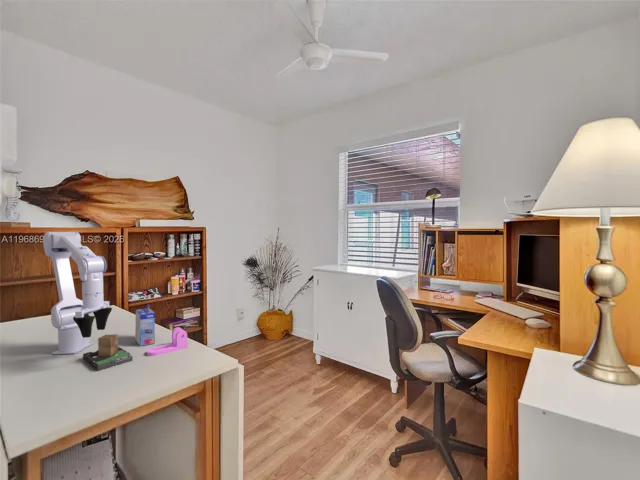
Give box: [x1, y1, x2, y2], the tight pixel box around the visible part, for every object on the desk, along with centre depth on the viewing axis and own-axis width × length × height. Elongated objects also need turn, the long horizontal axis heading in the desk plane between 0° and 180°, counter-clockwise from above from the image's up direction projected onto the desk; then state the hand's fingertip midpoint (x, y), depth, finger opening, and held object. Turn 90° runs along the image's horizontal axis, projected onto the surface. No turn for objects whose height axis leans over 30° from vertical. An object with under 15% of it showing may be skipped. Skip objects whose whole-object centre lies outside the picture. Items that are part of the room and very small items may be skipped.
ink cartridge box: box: [134, 303, 156, 347], centre depth 123 cm, size 10×6×14 cm, turn 40°
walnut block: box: [97, 333, 119, 356], centre depth 106 cm, size 4×4×6 cm
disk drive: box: [82, 345, 133, 372], centre depth 106 cm, size 10×3×15 cm
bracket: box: [146, 326, 188, 357], centre depth 115 cm, size 13×6×7 cm, turn 132°
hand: (94, 333), depth 105 cm, fingers open, 7 cm apart
